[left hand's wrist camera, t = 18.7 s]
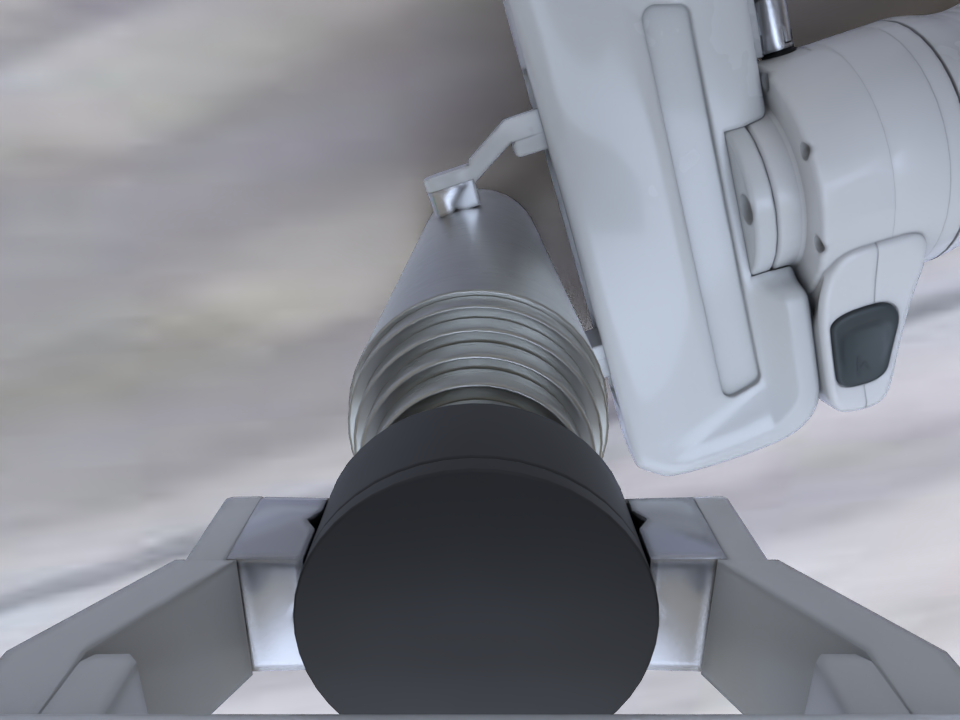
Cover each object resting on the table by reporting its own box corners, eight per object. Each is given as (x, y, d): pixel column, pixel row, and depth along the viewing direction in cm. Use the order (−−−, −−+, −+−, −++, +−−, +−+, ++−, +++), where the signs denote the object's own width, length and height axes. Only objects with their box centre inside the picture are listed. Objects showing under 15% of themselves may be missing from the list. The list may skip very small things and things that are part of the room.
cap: (305, 630, 11) (270, 733, 9) (352, 370, 9) (321, 432, 8) (580, 680, 11) (599, 789, 9) (669, 439, 10) (712, 514, 8)
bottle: (538, 187, 31) (703, 402, 8) (538, 303, 33) (672, 751, 10) (418, 190, 31) (236, 415, 8) (425, 306, 33) (294, 759, 10)
